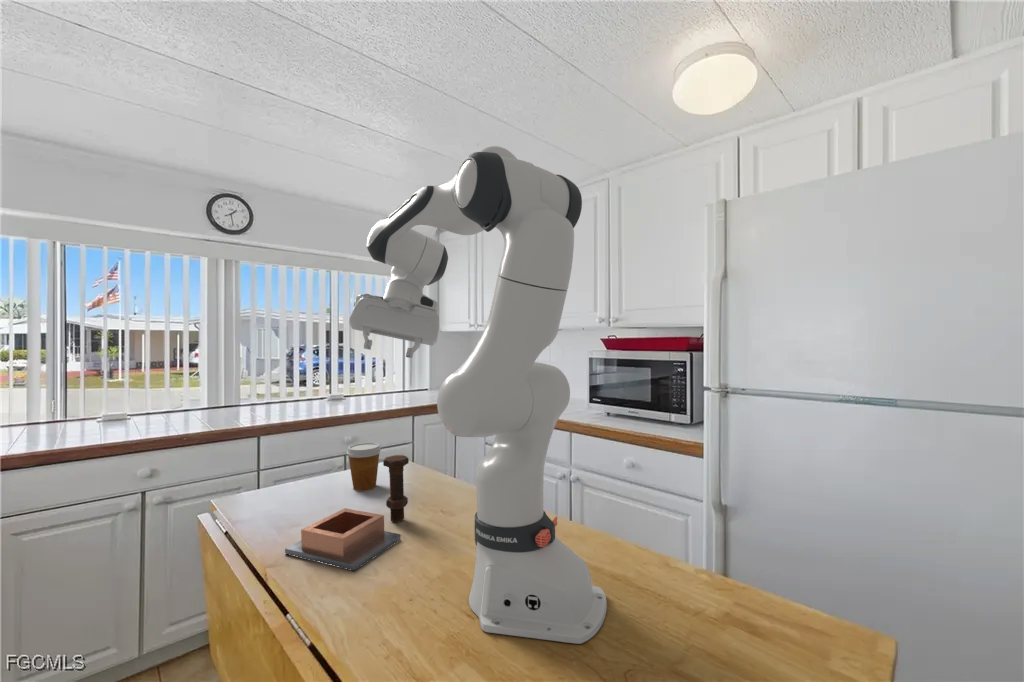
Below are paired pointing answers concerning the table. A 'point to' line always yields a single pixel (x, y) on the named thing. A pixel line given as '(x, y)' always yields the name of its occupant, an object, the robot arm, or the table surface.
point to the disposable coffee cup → (364, 465)
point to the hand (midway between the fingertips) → (388, 352)
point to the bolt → (396, 486)
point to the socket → (344, 539)
